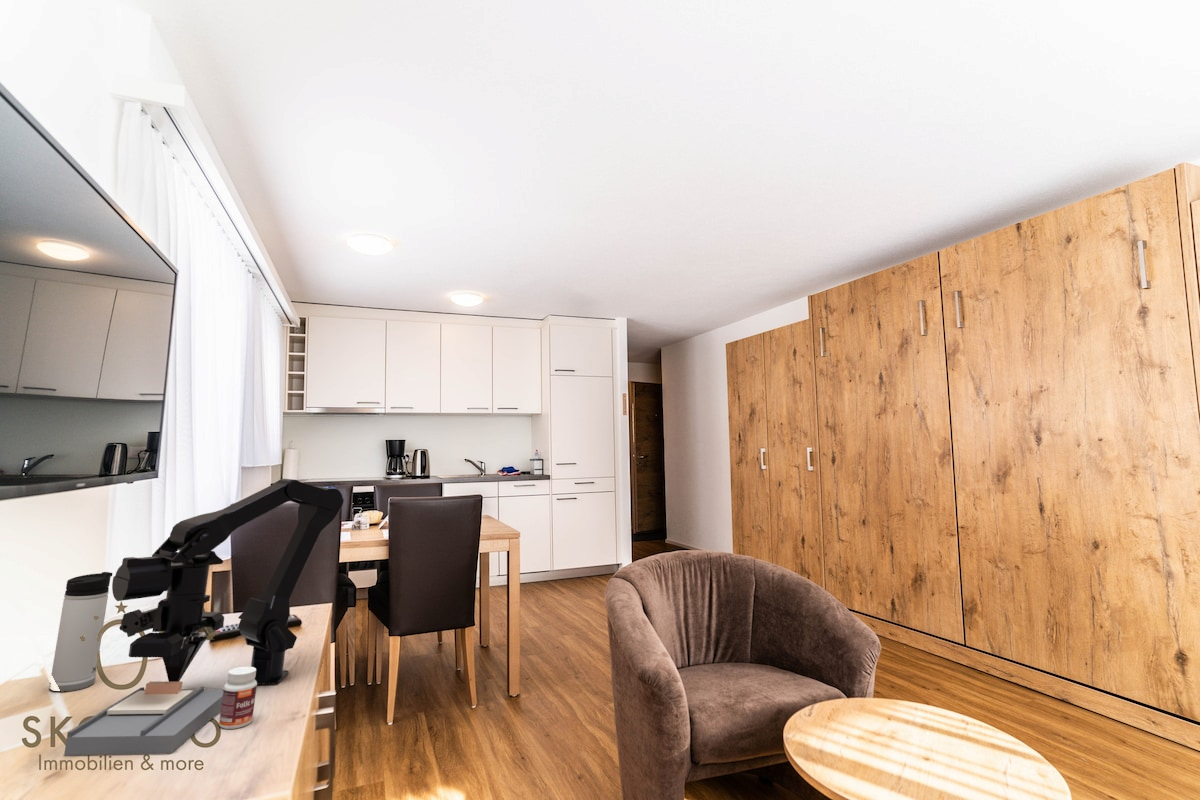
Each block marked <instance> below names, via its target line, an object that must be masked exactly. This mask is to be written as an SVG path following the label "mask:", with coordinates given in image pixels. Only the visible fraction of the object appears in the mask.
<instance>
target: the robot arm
mask: <svg viewBox="0 0 1200 800" xmlns="http://www.w3.org/2000/svg"><path fill="white" fill-rule="evenodd" d="M344 500H345V499H344V498H343V495H342V493H341V491H340V490H339V489H337V488H334V487H324V486H315V485H311V484H307V483H304V482H301V481H299V480H298V479H294V478H293V479H292V478H291V479H290V478H281V479H279V480H277V481H276V482H275V483H273V484H271V485H269V486H267V487H265V488H263V489H260V490H259V491H257V492H255V493H253V494H251V495H248V496H247V497H244V498H242V499H241V500H239V501H236V502H234V503H233V504H231V505H229V506H226V507H225V508H222V509H220V510H219V509H218V510H217V511H213V512H212V511H211V512H207V513H203V514H200V515H199V514H198V515H195V516H192V517H190V518H189V517H188V518H186V519H183V520H181V521H179V522H178V523H176V524H175V525H174V526H172V529H171V532H170V533H169V537H168V538H167V539H165V541H164V542H163V543H162V544H161V545H160V546H159V547H158V548H157V549H156V550H155V551H154V553H152V554H151V556H146V557H145V556H144V557H143V556H142V557H134V556H132V557H131V556H130V557H128V556H127V557H124V558H122V561H121V565H120V566H119V567H118V568H117V570H116V571H115V576H112V584H111V587H112V588H111V590H112V591H111V592H112V595H113V598H114V599H115V600H116V602H121V601H122V602H123V601H129V600H137V599H144V598H151V597H159V596H161V595H162V594H163V593H164V592H166V598H164V599H161V600H160V601H159V602H158V603H157V607H155V608H152V609H149V610H146V611H141V610H140V608H139V609H135V610H133V611H130V612H125V613H124V614H123V615H122V619H121V620H120V621H121V623H120V626H119V631H122V632H123V633H125V634H126V635H127V638H130V637H133V636H135V635H136V634H140V633H142V632H146V631H149V630H151V629H152V632H148V633H146V634H144V635H142V636H139V637H138V638H136V639H135V640H134V641H132V642H131V643H130V644H129V650H128V657H130V658H162V660H163V663H164V664H163V665H164V667H165V672H166V675H167V676H166V677H167V682H171V681H181V679H182V678H183V677H184V675H185V674H186V672H187V670H188V668H189V666H190V665H191V664H192V661H193V660H194V658H195V657H196V655H197V653H199V651H200V650H201V648H202V646H203V644H204V643H205V641H208V640H207V637H204V636H200V632H199V633H197V632H198V630H199V629H201V628H203V627H212V629H213V631H216V632H217V631H218V630H220V629H222V628H224V624H225V623H224V622H225V616H224V615H223V614H222V613H221V612H220V611H205V612H203V610H205V604H206V603H207V602H210V600H211V599H210V598H211V595H210V594H207V593H206V592H207V587H208V581H209V572H210V566H217V565H222V564H223V563H224V560H223V559H222V558H221V557H219V556H218V554H216V552H215V551H214V549H216V548H217V547H218V546H220V545H221V544H222V543H224V542H226V540H227V539H229V537H230V536H231V534H232V533H234V532H235V530H238V529H239V528H240V527H242V526H244V525H246V524H248V523H249V522H252V521H253V520H255V519H257V518H259V517H261V516H263V515H265V514H267V513H269V512H270V511H273V510H274V509H276V508H278V507H279V506H281V505H283V504H286V503H288V502H289V501H290V502H292V503H295V504H298V509H297V515H298V516H297V525H296V528H295V530H294V532H293V534H292V536H291V538H290V539H289V541H288V544H287V546H286V547H285V550H284V552H283V554H282V556H281V558H280V560H279V562H278V565H277V566H276V567H275V570H274V572H273V574H272V576H271V578H270V581H269V582H268V585H267V587H266V588H265V590H264V592H263V593H262V594H260V595H259V596H258V597H257V598H253V597H249V599H248V600H247V601H246V604H245V607H244V609H243V611H242V613H241V614H239V616H238V620H239V624H238V630H239V632H240V635H241V636H242V637H243V638H244V640H245V644H246V645H247V646H251V647H252V655H251V662H250V667H254V668H256V676H255V679H254V680H256V682H257V685H277V684H279V683H280V682H281V681H282V680H283V679H284V678H286V677H287V675H288V674H289V673H290V671H289V670H287V669H286V670H284V664H285V657H286V651H288V650H291V649H294V646H295V644H296V642H297V639H298V637H297V636H296V634H294V633H293V632H292V630H290V628H289V627H287V626H288V622H289V619H290V615H291V610H290V609H291V606H290V605H291V597H292V595H293V592H294V590H295V588H296V587H297V585H298V582H299V580H300V577H301V575H302V573H303V571H304V569H305V567H306V564H307V562H308V560H309V558H310V556H311V555H312V554H311V553H312V552H313V550H314V548H315V546H316V543H317V542H318V540H319V537H320V535H321V533H322V531H323V530H325V528H326V527H328V526H329V525H330V524H331V523H332V522H333V521H334V520H335V519H336V517H337V515H338V514H339V513H340V511H341V510H342V508H343V505H344ZM202 554H203V555H202ZM197 555H199V556H197ZM161 631H164V633H160V632H161Z"/></svg>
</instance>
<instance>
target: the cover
mask: <svg viewBox="0 0 1200 800" xmlns="http://www.w3.org/2000/svg"><path fill="white" fill-rule="evenodd" d="M183 683H184V682H183V681H182V680H180V681H171V682H169V681H148V683H146V684H145V687H144V689H145V691H138V692H136V693H135V694H133V695H131V696H130V697H128V698H126V699H125V700H123V701H122V702H120V703H118V704H117V705H115V706H113V707H112V708H110V709H108V710H107V714H165V713H166V712H168V711H169V710H170V709H172V708H173V707H175V706H176V705H177V704H179V703H180V702H181V701H183V700H184V699H186V698H187V697H188V696H190V695H191V694H192V693H193V690H181V689H183V688H182V687H183Z"/></svg>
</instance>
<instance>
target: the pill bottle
mask: <svg viewBox="0 0 1200 800" xmlns="http://www.w3.org/2000/svg"><path fill="white" fill-rule="evenodd" d="M255 676H256V668H254V667H251V666H239V667H235V668H231V669H229V670H228V673H227V678H226V679H227V682H226V683H225V684H224V685H223V689H224V690H223V698H222V705H221V711H220V712H219V713H220V715H219V720H218V721H219V722H218V726H219V727H220V728H222V729H225V730H234V729H235V730H236V729H239V728H242V727H246V726H248V725H249V724H251V723H252V721H253V718H254V717H253V716H254V709H255V702H256V695H257V685H258V684H257V682H256V680H254V679H255Z"/></svg>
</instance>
